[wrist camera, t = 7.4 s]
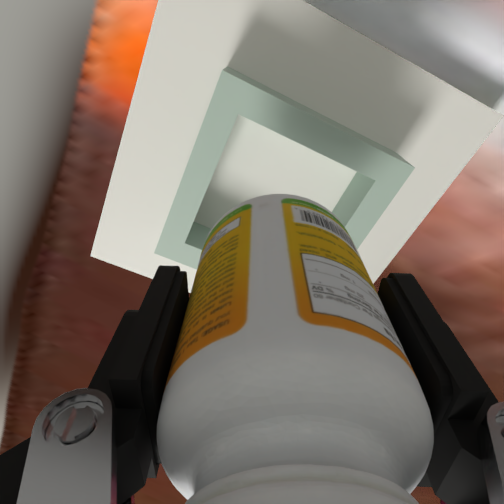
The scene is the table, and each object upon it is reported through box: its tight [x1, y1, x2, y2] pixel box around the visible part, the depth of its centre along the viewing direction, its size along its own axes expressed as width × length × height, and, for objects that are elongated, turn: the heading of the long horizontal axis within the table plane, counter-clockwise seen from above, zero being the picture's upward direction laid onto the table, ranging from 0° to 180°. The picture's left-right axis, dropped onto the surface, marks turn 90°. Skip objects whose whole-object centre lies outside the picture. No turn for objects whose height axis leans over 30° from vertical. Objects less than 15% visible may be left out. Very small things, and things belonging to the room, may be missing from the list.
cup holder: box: [91, 0, 504, 293], centre depth 18 cm, size 16×16×4 cm
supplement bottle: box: [157, 194, 434, 504], centre depth 9 cm, size 5×5×10 cm
